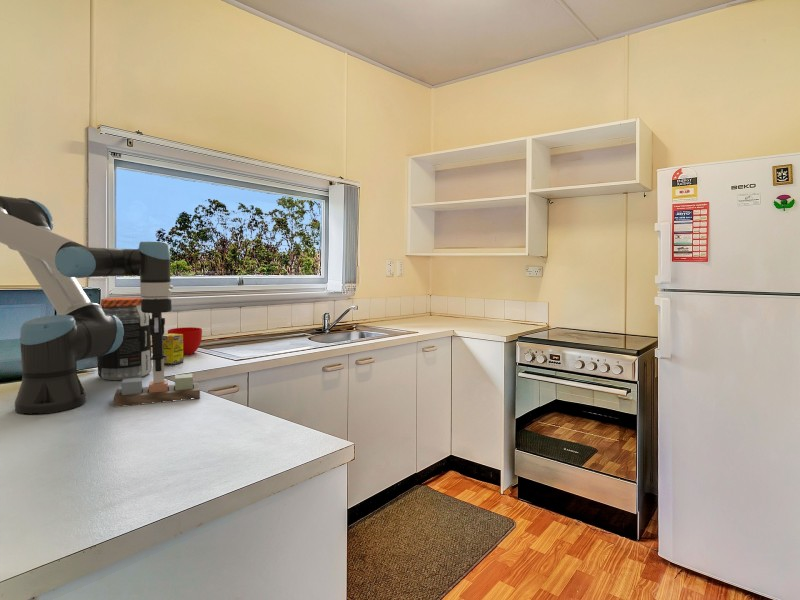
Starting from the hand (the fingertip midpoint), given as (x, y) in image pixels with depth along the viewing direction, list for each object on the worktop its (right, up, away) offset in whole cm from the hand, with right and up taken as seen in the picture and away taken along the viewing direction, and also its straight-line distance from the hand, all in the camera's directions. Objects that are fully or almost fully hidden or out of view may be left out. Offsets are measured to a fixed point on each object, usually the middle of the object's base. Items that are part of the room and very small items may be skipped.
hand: (158, 381), depth 136 cm
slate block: (-6, -3, -3) cm, 7 cm away
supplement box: (-18, -1, +46) cm, 49 cm away
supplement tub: (-24, -3, +26) cm, 36 cm away
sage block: (+6, -2, +3) cm, 7 cm away
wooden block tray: (0, -5, 0) cm, 5 cm away
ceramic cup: (-22, 0, +63) cm, 67 cm away
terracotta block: (0, -4, 0) cm, 4 cm away
